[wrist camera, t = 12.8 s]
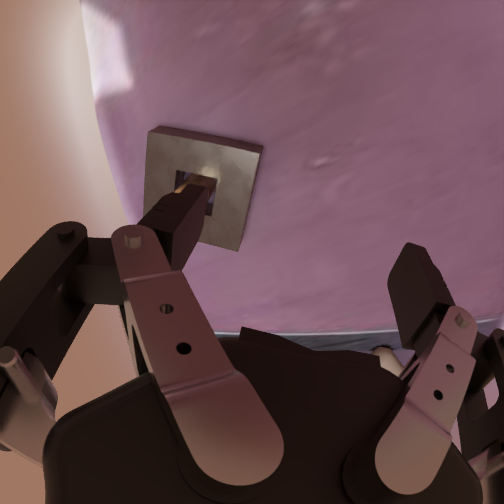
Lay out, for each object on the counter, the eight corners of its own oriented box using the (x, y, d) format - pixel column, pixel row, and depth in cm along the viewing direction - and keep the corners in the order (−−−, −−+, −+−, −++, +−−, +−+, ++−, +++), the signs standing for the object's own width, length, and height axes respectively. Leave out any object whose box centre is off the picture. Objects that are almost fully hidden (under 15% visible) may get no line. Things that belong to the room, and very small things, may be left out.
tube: (361, 367, 53) (404, 413, 61) (387, 364, 49) (424, 412, 57) (367, 343, 56) (408, 394, 65) (391, 339, 53) (427, 392, 61)
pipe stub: (189, 166, 41) (163, 193, 33) (218, 173, 41) (197, 201, 33) (186, 193, 43) (161, 224, 36) (213, 199, 43) (193, 232, 36)
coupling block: (159, 125, 38) (148, 131, 35) (263, 146, 38) (259, 153, 35) (152, 215, 46) (143, 227, 43) (242, 238, 46) (237, 251, 43)
